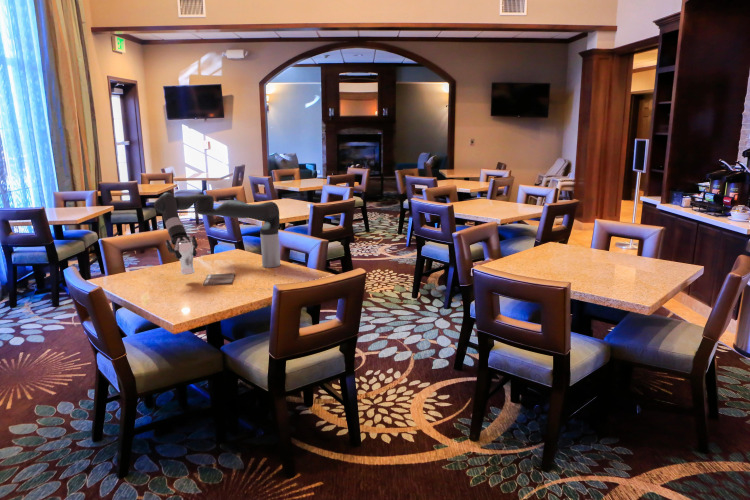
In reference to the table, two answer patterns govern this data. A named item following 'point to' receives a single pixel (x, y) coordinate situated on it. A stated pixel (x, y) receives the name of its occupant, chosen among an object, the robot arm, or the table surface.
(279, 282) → the table surface
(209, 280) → the board
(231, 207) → the robot arm
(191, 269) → the beer glass
